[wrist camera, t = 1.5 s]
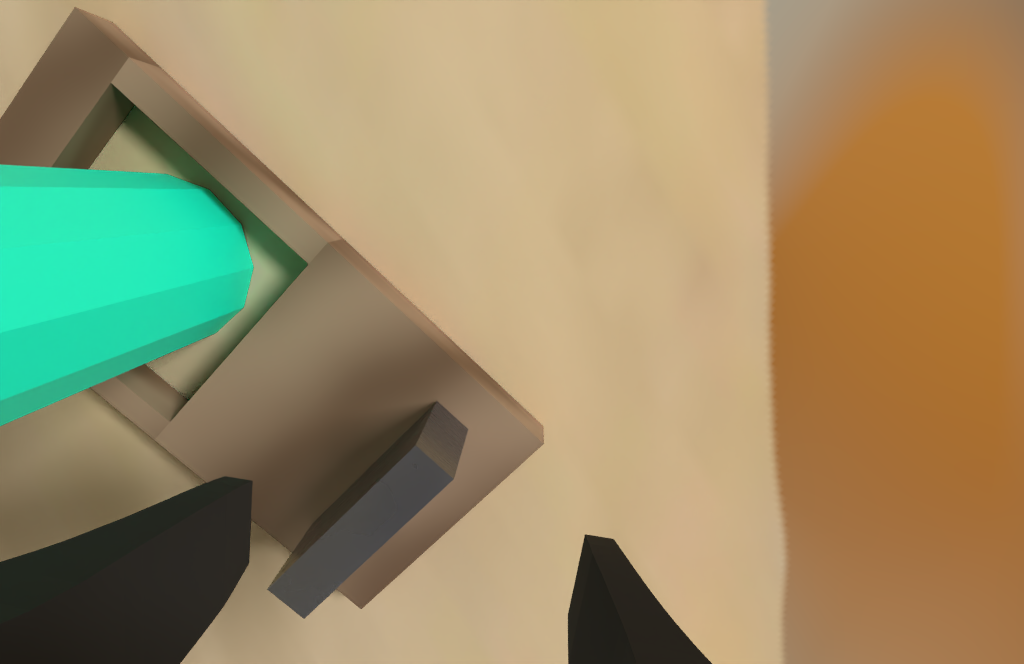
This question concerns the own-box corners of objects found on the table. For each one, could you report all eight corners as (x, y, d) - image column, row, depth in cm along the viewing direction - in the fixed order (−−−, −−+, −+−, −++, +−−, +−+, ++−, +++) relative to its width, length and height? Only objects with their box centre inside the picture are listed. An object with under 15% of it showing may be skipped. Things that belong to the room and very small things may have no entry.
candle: (64, 279, 20) (-571, 393, 9) (132, 138, 19) (-509, 47, 7) (207, 370, 21) (-207, 590, 9) (283, 239, 20) (-89, 306, 8)
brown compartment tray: (543, 426, 21) (545, 496, 16) (372, 582, 23) (328, 687, 18) (112, 21, 18) (-44, -41, 13) (-40, 241, 20) (-223, 257, 15)
